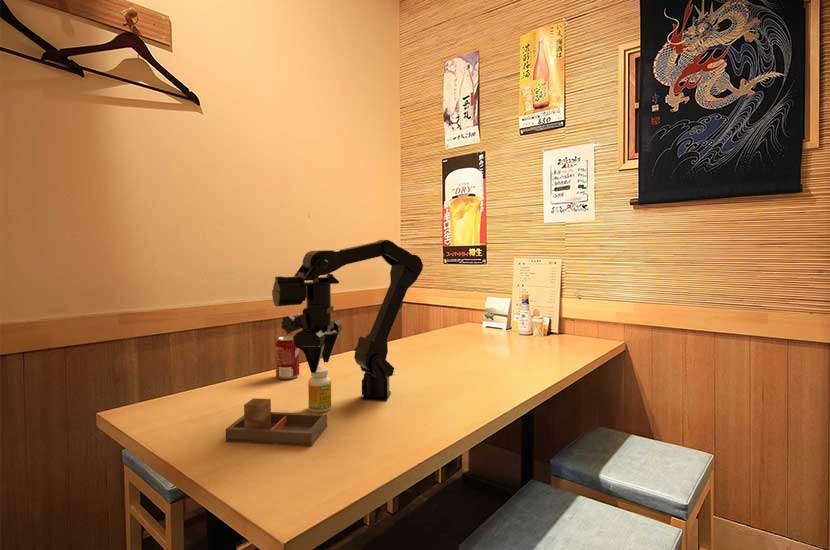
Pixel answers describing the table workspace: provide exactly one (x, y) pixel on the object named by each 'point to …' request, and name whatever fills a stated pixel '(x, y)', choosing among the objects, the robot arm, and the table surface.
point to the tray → (281, 430)
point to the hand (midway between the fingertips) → (319, 367)
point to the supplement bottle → (319, 391)
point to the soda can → (286, 358)
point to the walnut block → (257, 413)
